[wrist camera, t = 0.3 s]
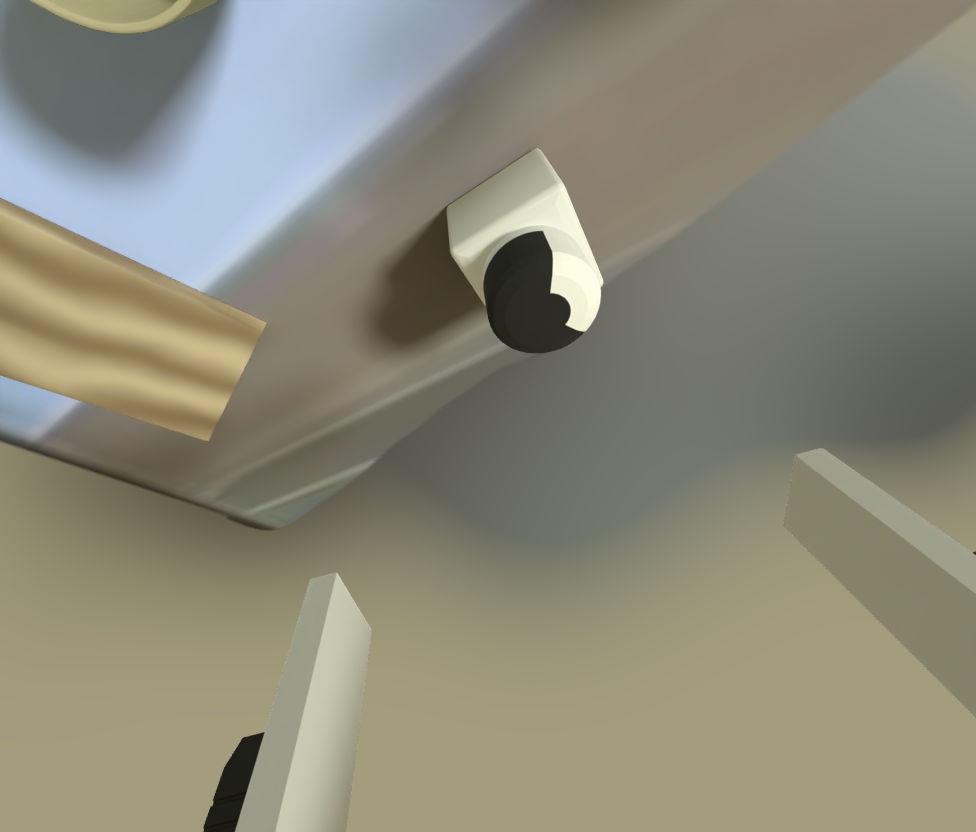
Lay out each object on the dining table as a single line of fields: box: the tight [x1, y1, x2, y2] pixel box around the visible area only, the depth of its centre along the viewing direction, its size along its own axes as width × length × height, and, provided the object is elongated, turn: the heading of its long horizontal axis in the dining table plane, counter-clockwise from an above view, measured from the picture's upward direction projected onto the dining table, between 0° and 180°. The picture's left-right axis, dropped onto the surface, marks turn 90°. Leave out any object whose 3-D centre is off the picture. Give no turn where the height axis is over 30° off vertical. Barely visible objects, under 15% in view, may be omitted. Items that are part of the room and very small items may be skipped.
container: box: [447, 148, 603, 353], centre depth 29 cm, size 8×8×13 cm
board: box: [0, 198, 266, 441], centre depth 33 cm, size 16×32×2 cm, turn 52°
